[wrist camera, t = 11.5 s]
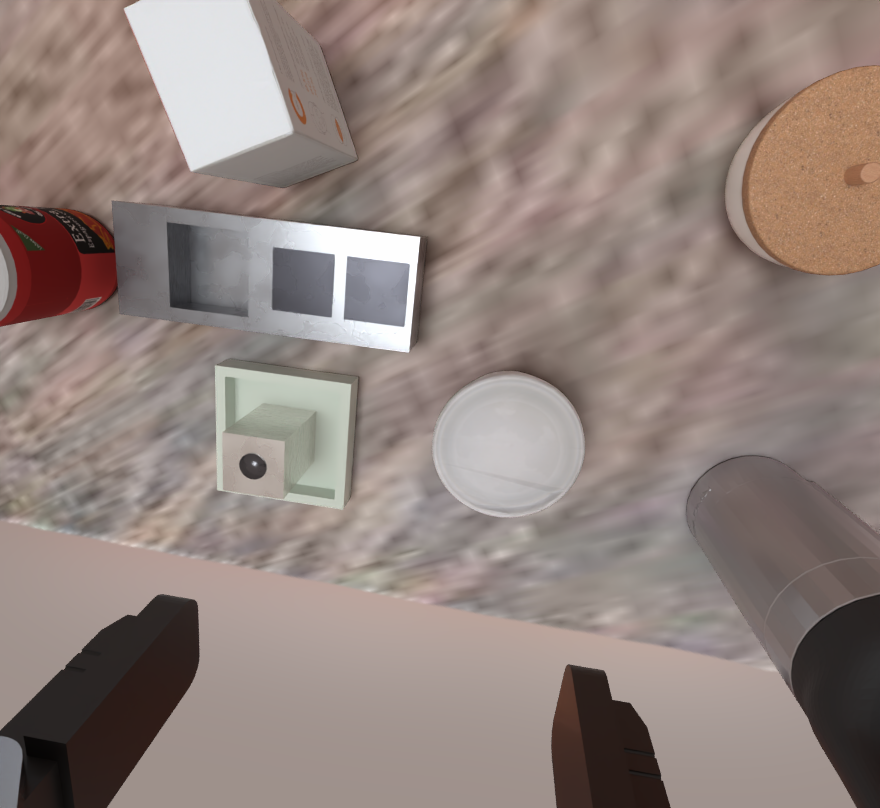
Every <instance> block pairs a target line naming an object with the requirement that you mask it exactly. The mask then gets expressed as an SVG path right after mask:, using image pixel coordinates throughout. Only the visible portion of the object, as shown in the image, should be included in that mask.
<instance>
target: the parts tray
mask: <svg viewBox="0 0 880 808" xmlns="http://www.w3.org/2000/svg"><path fill="white" fill-rule="evenodd" d="M215 390H216V448H217V490H220V491H226V490H223V459H222V432H223V431H225V430H226V429H227V428H229V427H230V426H232V425H233V424H234V423H236V422H237V421H239V420H240V419H241V418H243V417H244V416H245V415H247V414H248V413H250V412H251V411H252V410H254V409H255V408H257V407H258V406H259V405H261V404H262V403H266V404H273V405H280V406H287V407H294V408H301V409H308V410H315V411H316V433H315V456H314V462H313V464H312V465H311V466H310V467H309V469H308V470H307V471H306V472H305V473H304V475H303V476H302V477H301V478H300V480H299V481H298V482H297V483H296V484H295V486H294V487H293V488H292V489H291V491H290V492H289V493H288V494H287V495H286V497H285V498H284V499H278V500H284V501H291V502H297V503H304V504H310V505H317V506H323V507H330V508H336V509H342V510H343V509H344V507H345V506H346V504H347V502H348V500H349V499H350V496H351V482H352V467H353V452H354V437H355V422H356V407H357V392H358V377H357V376H349V375H342V374H335V373H328V372H320V371H313V370H306V369H299V368H291V367H284V366H277V365H269V364H262V363H255V362H248V361H240V360H233V359H228V360H225V361H223V362H221V363H219V364H217V365H215ZM226 492H232V491H226ZM233 493H238V492H233ZM239 494H245V493H239ZM246 495H251V494H246ZM252 496H258V495H252ZM258 497H264V496H258ZM265 498H271V497H265ZM271 499H277V498H271Z"/></svg>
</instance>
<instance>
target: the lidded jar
mask: <svg viewBox="0 0 880 808" xmlns="http://www.w3.org/2000/svg"><path fill="white" fill-rule="evenodd" d="M725 204H726V211H727V215H728V219H729V221H730V223H731V226H732V228H733V230H734V232H735V233H736V234H737V236H738V237H739V239H740V240H741V241H742V242H743V243H744V244H745V245H746V246H747V247H748V248H749V249H750V250H751V251H753V252H754V253H756V254H757V255H759V256H760V257H762V258H764V259H766V260H769V261H771V262H773V263H775V264H777V265H781V266H784V267H788V268H792V269H794V270H798V271H802V272H806V273H810V274H819V275H844V274H849V273H854V272H859V271H862V270H865V269H868V268H871V267H874V266H877V265H879V264H880V66H877V65H873V66H863V67H855V68H852V69H848V70H844V71H840V72H837V73H835V74H833V75H830V76H828V77H826V78H823V79H821V80H819V81H817V82H815V83H813V84H812V85H810V86H808V87H807V88H805V89H803V90H802V91H800V92H799V93H797V94H796V95H794V96H793V97H791V98H789V99H788V100H786V101H784V102H783V103H781V104H780V105H779V106H778V107H776V108H775V109H774V110H773V111H771V112H770V113H769V114H768V115H766V116H765V117H764V118H763V119H762V120H761V121H760V122H759V123H758V124H757V125H756V126H755V127H754V128H753V129H752V130H751V132H750V133H749V134H748V136H747V137H746V138H745V140H744V141H743V142H742V144H741V145H740V147H739V149H738V150H737V152H736V154H735V156H734V158H733V160H732V163H731V165H730V168H729V171H728V175H727V180H726V186H725Z"/></svg>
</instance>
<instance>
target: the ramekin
mask: <svg viewBox="0 0 880 808" xmlns="http://www.w3.org/2000/svg"><path fill="white" fill-rule="evenodd" d="M584 455H585V437H584V431H583V427H582V424H581V421H580V418H579V416H578V414H577V412H576V410H575V408H574V407H573V405H572V404H571V402H570V401H569V400H568V399H567V397H566V396H565V395H564V394H563V393H562V392H561V391H559V390H558V389H557V388H556V387H554V386H553V385H551V384H549V383H548V382H546V381H544V380H542V379H540V378H537V377H535V376H532V375H529V374H527V373H522V372H519V371H500V372H493V373H490V374H486V375H484V376H481V377H479V378H478V379H476V380H474V381H472V382H471V383H469V384H468V385H466V386H464V387H463V388H462V389H460V390H459V391H458V392H457V393H456V394H454V395H453V397H452V398H451V399H450V400H449V401H448V402H447V404H446V405H445V406H444V408H443V410H442V411H441V413H440V415H439V417H438V420H437V422H436V425H435V429H434V433H433V440H432V457H433V462H434V465H435V469H436V471H437V474H438V476H439V478H440V480H441V481H442V483H443V485H444V486H445V487H446V489H447V490H448V491H449V492H450V493H451V494H452V495H453V496H454V497H455V498H456V499H457V500H458V501H460V502H461V503H463V504H464V505H466V506H467V507H469V508H471V509H473V510H475V511H477V512H480V513H483V514H486V515H490V516H495V517H504V518H514V517H523V516H527V515H531V514H534V513H537V512H540V511H542V510H544V509H546V508H548V507H550V506H552V505H553V504H555V503H556V502H557V501H558V500H560V499H561V498H562V497H563V496H564V495H565V494H566V493H567V492H568V491H569V489H570V488H571V487H572V485H573V484H574V482H575V481H576V479H577V477H578V475H579V473H580V471H581V468H582V464H583V461H584Z"/></svg>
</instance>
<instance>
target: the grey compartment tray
mask: <svg viewBox="0 0 880 808" xmlns="http://www.w3.org/2000/svg"><path fill="white" fill-rule="evenodd" d="M112 212H113V227H114V241H115V255H116V269H117V283H118V297H119V311H120V314H124V315H132V316H139V317H147V318H154V319H162V320H169V321H177V322H184V323H192V324H199V325H207V326H214V327H222V328H229V329H237V330H244V331H252V332H259V333H267V334H274V335H282V336H289V337H297V338H304V339H312V340H319V341H327V342H334V343H342V344H349V345H356V346H364V347H371V348H379V349H386V350H394V351H401V352H410V350H411V349H412V348H413V347H414V345H415V344H416V343H417V337H418V327H419V317H420V307H421V297H422V287H423V277H424V267H425V257H426V247H427V237H425V236H417V235H409V234H400V233H392V232H383V231H375V230H366V229H358V228H350V227H341V226H333V225H324V224H316V223H307V222H299V221H290V220H282V219H274V218H265V217H257V216H248V215H240V214H231V213H223V212H215V211H206V210H198V209H189V208H181V207H172V206H164V205H156V204H147V203H135V202H122V201H112Z"/></svg>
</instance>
